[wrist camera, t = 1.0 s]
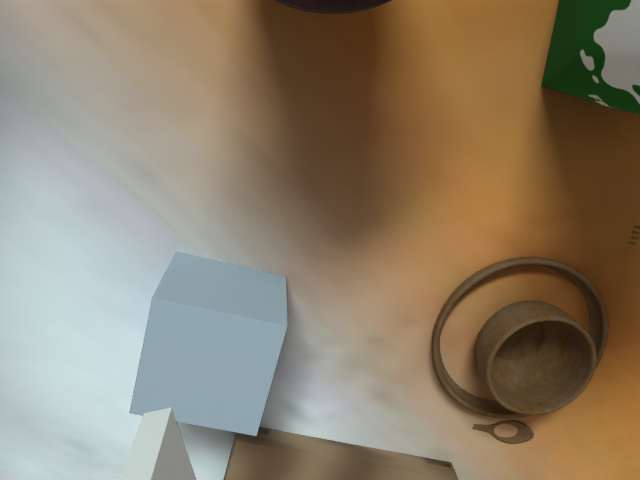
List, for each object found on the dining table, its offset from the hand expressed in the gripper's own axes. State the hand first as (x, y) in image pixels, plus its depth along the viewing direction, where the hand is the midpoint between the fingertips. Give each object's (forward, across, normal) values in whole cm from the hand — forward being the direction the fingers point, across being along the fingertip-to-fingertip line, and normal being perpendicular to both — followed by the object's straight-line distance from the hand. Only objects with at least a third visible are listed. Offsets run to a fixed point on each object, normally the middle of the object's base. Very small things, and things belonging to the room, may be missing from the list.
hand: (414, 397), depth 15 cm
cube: (+20, -9, -5) cm, 23 cm away
